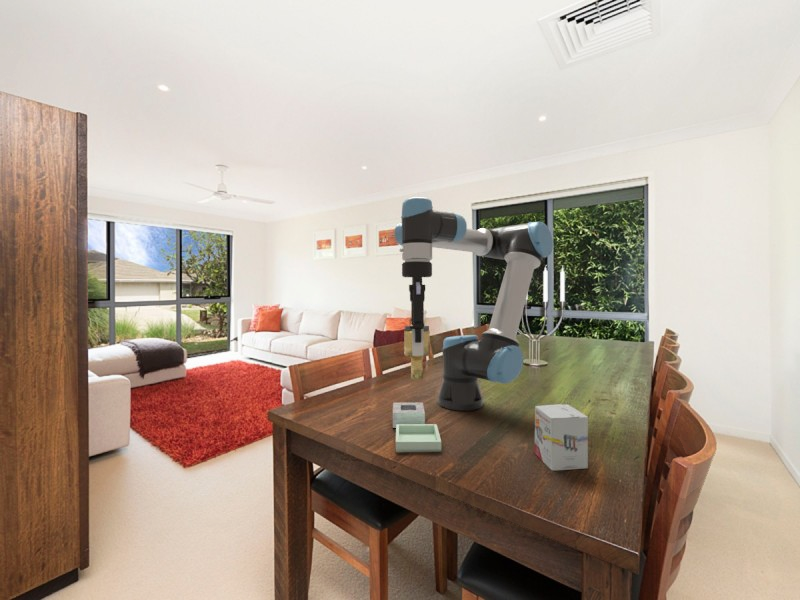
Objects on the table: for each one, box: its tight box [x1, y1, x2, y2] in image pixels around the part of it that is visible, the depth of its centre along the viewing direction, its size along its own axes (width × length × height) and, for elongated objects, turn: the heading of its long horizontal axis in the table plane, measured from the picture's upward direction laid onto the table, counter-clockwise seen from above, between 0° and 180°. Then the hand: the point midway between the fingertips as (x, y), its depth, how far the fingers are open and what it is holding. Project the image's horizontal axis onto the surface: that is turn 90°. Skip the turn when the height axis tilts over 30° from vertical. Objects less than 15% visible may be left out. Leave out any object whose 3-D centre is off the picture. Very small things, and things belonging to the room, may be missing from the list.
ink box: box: [534, 403, 589, 472], centre depth 82 cm, size 9×9×12 cm
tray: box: [395, 423, 442, 453], centre depth 92 cm, size 11×11×2 cm
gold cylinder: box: [403, 325, 431, 380], centre depth 91 cm, size 6×6×13 cm
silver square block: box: [392, 402, 426, 429], centre depth 105 cm, size 9×9×4 cm
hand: (417, 352), depth 91 cm, fingers closed on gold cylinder, 6 cm apart
